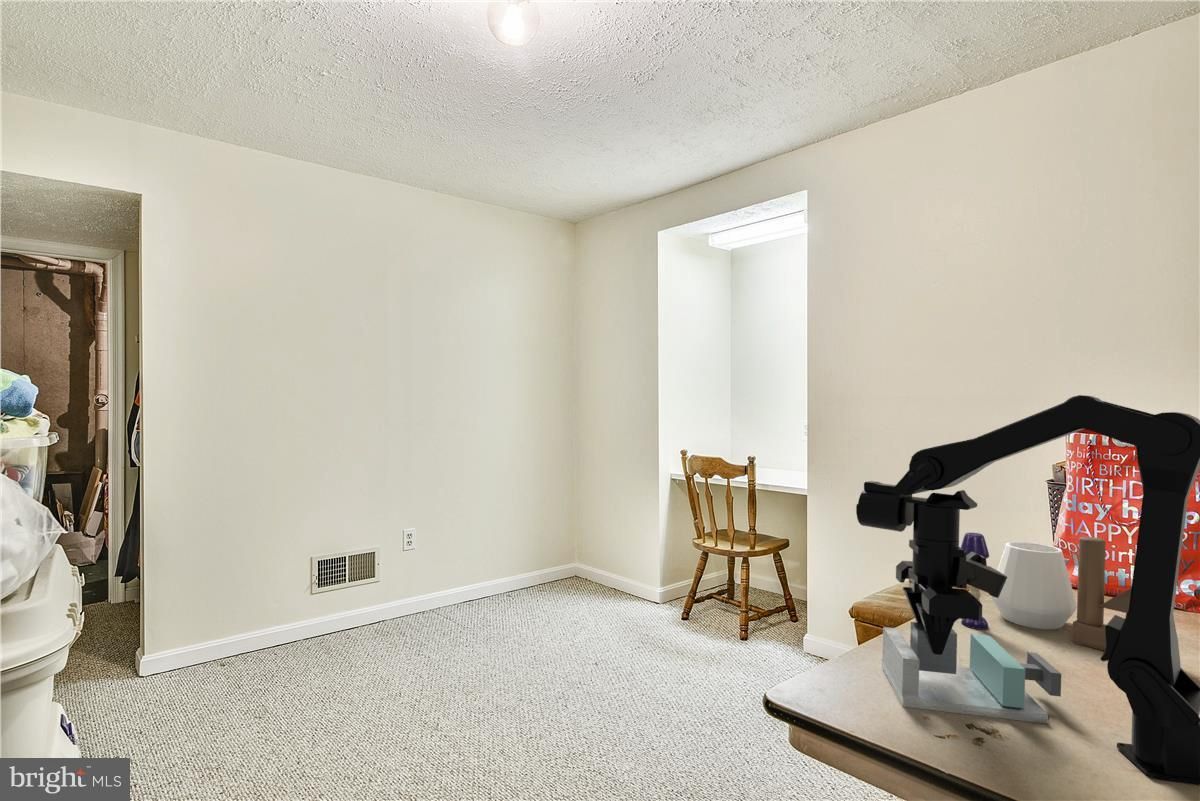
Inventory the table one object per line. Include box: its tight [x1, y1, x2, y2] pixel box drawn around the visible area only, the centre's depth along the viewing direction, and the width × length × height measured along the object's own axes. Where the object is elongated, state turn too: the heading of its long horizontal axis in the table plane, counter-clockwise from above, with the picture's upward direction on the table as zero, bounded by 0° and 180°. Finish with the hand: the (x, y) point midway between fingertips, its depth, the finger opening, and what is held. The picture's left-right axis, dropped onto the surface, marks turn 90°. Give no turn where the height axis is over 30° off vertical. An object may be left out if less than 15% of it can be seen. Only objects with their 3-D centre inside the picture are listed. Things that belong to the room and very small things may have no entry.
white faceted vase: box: [991, 541, 1077, 631], centre depth 120 cm, size 13×13×14 cm
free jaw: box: [969, 633, 1062, 708], centre depth 88 cm, size 12×8×5 cm, turn 168°
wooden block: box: [1071, 536, 1132, 652], centre depth 106 cm, size 4×11×18 cm, turn 35°
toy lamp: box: [960, 532, 990, 630], centre depth 117 cm, size 5×5×17 cm
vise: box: [880, 626, 1049, 724], centre depth 89 cm, size 13×17×6 cm
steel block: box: [909, 621, 958, 674], centre depth 90 cm, size 4×5×6 cm
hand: (933, 648), depth 90 cm, fingers closed on steel block, 3 cm apart
